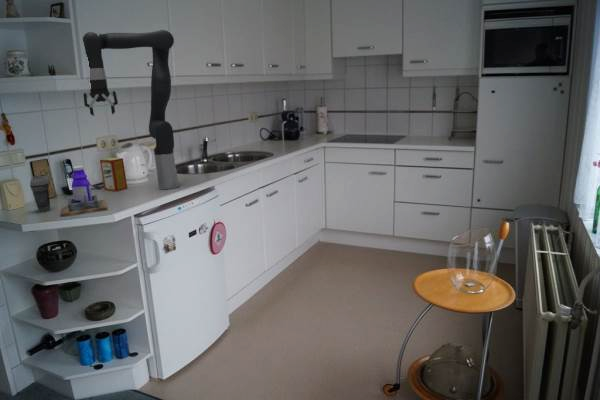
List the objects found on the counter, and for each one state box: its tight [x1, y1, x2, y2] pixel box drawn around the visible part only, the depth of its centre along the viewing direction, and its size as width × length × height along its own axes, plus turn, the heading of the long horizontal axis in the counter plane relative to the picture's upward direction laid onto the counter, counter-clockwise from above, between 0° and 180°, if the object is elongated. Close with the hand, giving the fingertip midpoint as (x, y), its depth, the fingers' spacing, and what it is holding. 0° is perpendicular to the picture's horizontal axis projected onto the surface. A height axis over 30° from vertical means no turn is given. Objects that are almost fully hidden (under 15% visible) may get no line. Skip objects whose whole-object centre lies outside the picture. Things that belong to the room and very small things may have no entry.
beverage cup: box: [29, 165, 51, 213], centre depth 206 cm, size 7×7×20 cm
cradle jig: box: [59, 194, 108, 218], centre depth 206 cm, size 18×16×4 cm
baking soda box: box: [99, 157, 128, 192], centre depth 242 cm, size 10×6×16 cm
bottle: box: [71, 165, 93, 203], centre depth 205 cm, size 7×6×17 cm
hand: (103, 115), depth 222 cm, fingers open, 8 cm apart
